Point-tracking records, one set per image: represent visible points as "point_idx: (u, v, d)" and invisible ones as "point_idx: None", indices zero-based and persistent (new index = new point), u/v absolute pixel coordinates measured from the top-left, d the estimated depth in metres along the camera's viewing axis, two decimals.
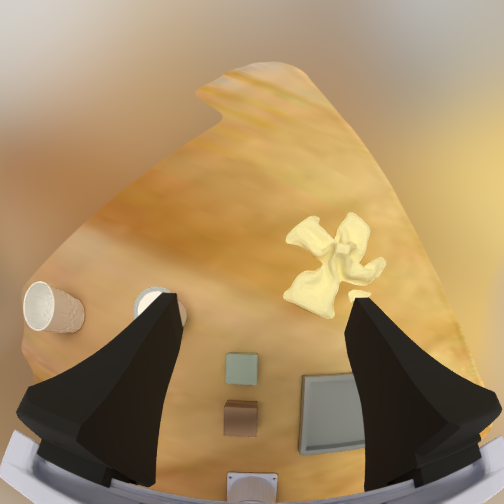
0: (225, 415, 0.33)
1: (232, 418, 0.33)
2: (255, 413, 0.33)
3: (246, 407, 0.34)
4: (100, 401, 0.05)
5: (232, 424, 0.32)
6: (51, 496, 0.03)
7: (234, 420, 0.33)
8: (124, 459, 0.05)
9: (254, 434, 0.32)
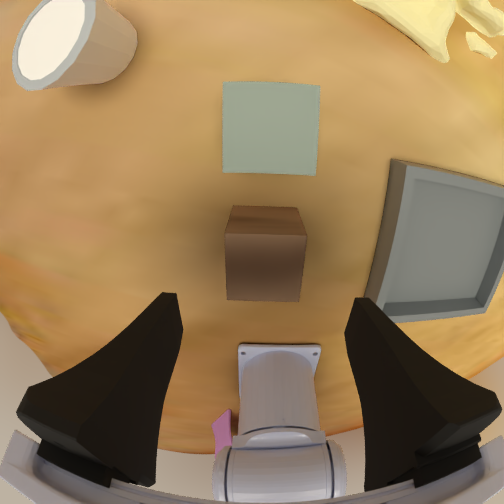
0: (228, 254, 0.16)
1: (246, 261, 0.16)
2: (301, 248, 0.15)
3: (279, 231, 0.15)
4: (100, 401, 0.05)
5: (245, 275, 0.16)
6: (51, 496, 0.03)
7: (250, 264, 0.16)
8: (124, 459, 0.05)
9: (295, 296, 0.17)
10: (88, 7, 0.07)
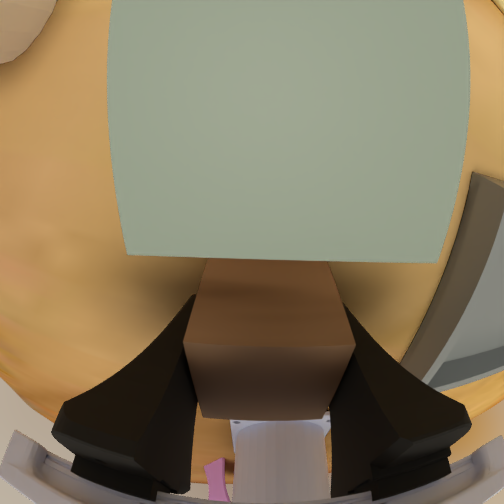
0: (196, 371, 0.07)
1: (232, 382, 0.08)
2: (340, 362, 0.07)
3: (298, 334, 0.07)
4: (151, 413, 0.05)
5: (231, 396, 0.08)
6: (51, 496, 0.03)
7: (240, 386, 0.08)
8: (169, 470, 0.05)
9: (317, 415, 0.09)
10: None
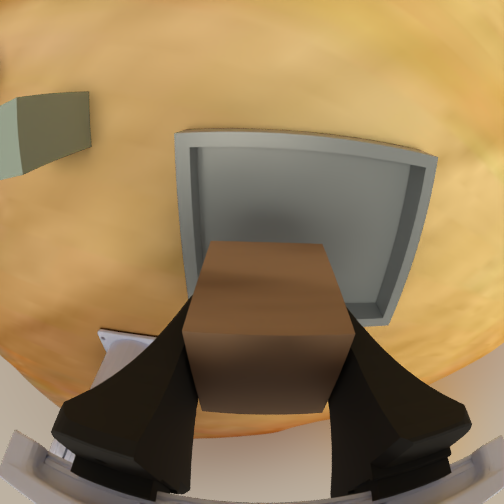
0: (195, 362, 0.07)
1: (231, 372, 0.08)
2: (339, 352, 0.07)
3: (298, 323, 0.07)
4: (151, 413, 0.05)
5: (230, 388, 0.08)
6: (51, 496, 0.03)
7: (239, 376, 0.08)
8: (169, 470, 0.05)
9: (317, 408, 0.09)
10: None
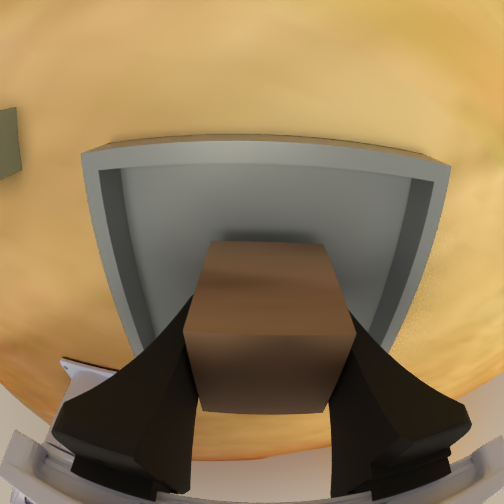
0: (196, 362, 0.07)
1: (232, 373, 0.08)
2: (341, 352, 0.07)
3: (299, 323, 0.07)
4: (151, 413, 0.05)
5: (231, 388, 0.08)
6: (51, 496, 0.03)
7: (240, 377, 0.08)
8: (169, 470, 0.05)
9: (318, 408, 0.09)
10: None
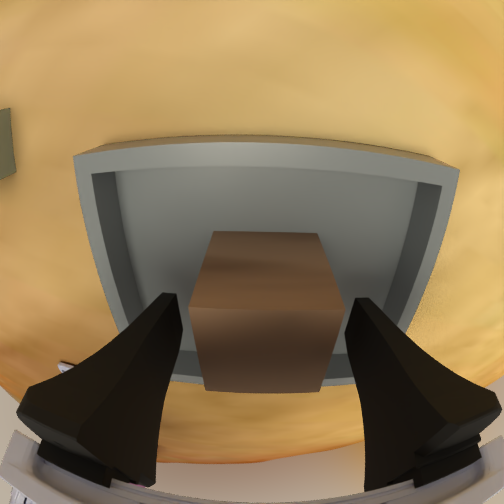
0: (200, 338, 0.08)
1: (232, 348, 0.08)
2: (332, 328, 0.08)
3: (293, 300, 0.08)
4: (100, 401, 0.05)
5: (231, 365, 0.09)
6: (51, 496, 0.03)
7: (240, 353, 0.09)
8: (124, 459, 0.05)
9: (314, 387, 0.10)
10: None
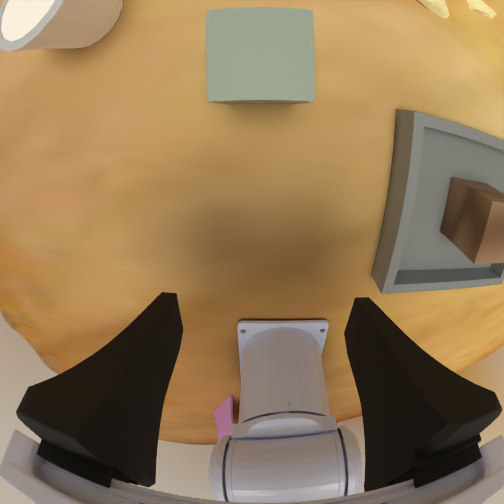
0: (489, 220, 0.12)
1: (496, 227, 0.12)
2: None
3: None
4: (100, 401, 0.05)
5: (492, 239, 0.13)
6: (51, 496, 0.03)
7: (497, 230, 0.12)
8: (124, 459, 0.05)
9: None
10: None
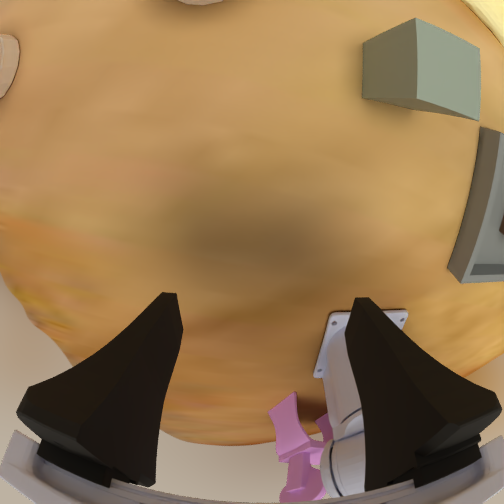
0: None
1: None
2: None
3: None
4: (100, 401, 0.05)
5: None
6: (51, 496, 0.03)
7: None
8: (124, 459, 0.05)
9: None
10: None
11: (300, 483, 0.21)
